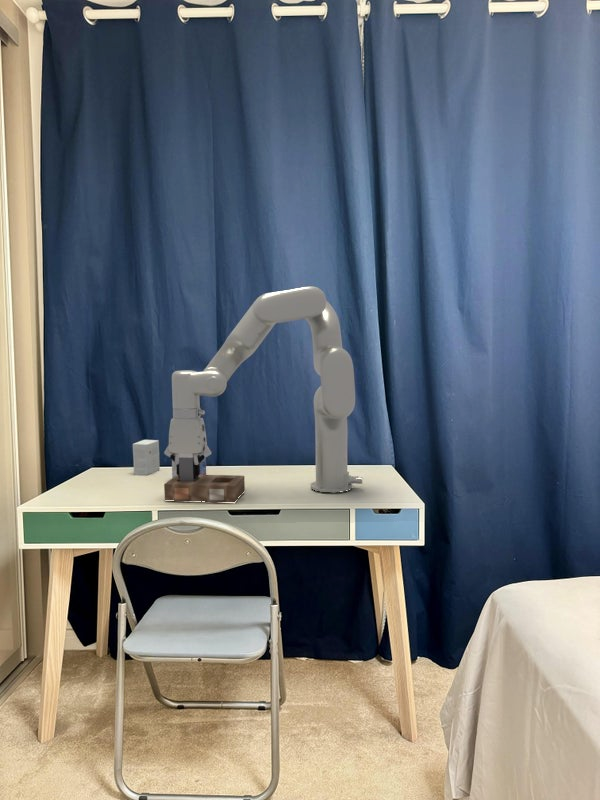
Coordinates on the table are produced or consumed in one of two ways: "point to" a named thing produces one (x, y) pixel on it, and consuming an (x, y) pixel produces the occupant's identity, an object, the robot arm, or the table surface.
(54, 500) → the table surface
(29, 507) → the table surface
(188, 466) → the plug
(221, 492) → the socket block
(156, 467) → the small box
